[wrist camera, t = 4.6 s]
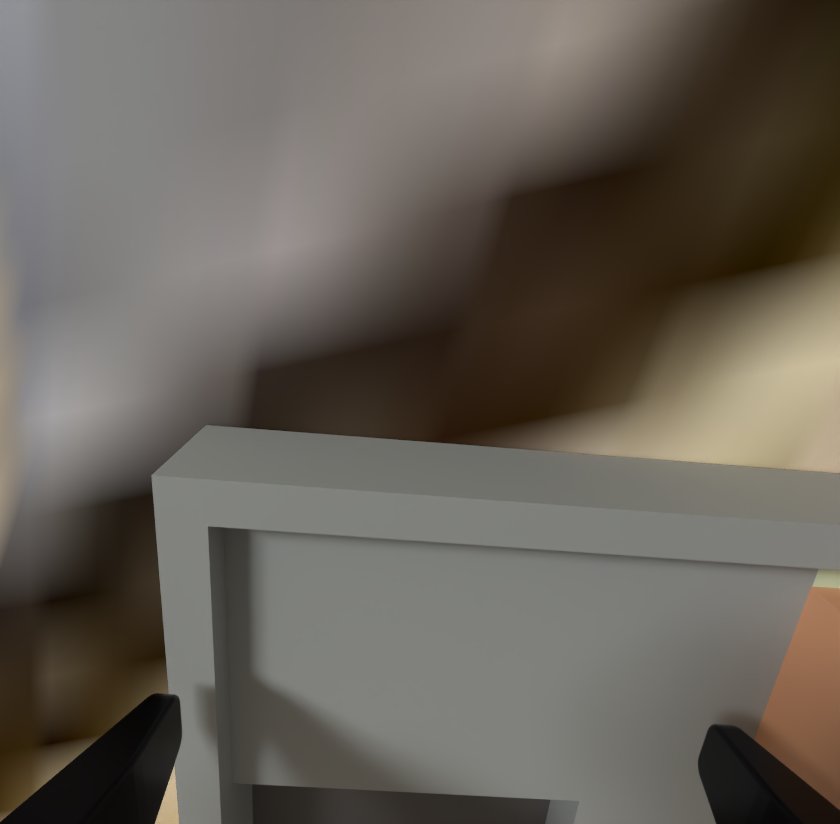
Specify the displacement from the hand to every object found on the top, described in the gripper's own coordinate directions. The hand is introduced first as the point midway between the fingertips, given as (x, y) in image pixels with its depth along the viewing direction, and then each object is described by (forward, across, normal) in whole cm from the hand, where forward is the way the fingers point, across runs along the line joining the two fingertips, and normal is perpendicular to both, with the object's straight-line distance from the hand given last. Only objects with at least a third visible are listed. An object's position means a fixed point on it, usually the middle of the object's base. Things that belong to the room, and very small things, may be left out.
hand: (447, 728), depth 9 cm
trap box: (+3, -4, +4) cm, 6 cm away
